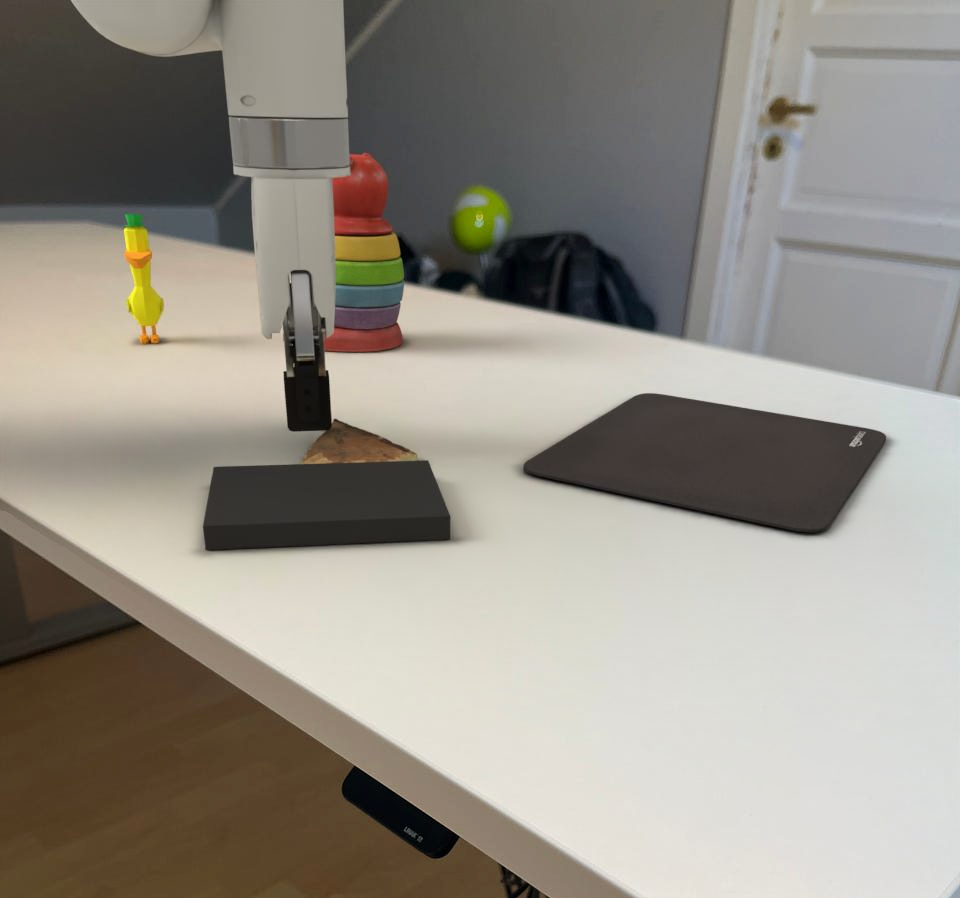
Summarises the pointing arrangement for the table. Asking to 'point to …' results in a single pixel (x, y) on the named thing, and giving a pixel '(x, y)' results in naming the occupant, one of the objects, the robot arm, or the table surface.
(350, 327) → the stacking bear
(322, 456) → the shard
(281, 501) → the black rectangular block
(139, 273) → the toy figure
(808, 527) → the mouse pad
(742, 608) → the table surface
